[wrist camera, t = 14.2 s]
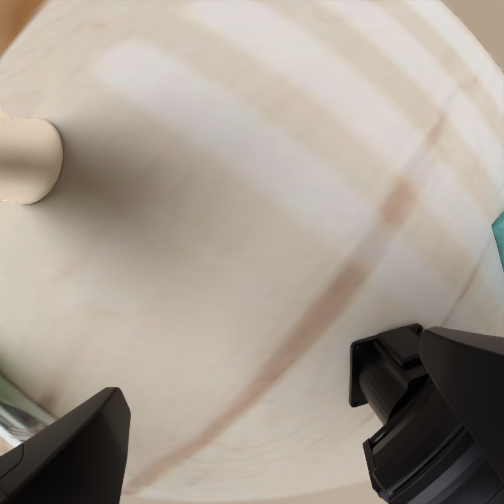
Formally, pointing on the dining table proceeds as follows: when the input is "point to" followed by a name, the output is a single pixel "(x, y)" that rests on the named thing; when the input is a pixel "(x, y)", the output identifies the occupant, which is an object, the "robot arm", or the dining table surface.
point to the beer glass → (28, 158)
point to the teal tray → (499, 235)
